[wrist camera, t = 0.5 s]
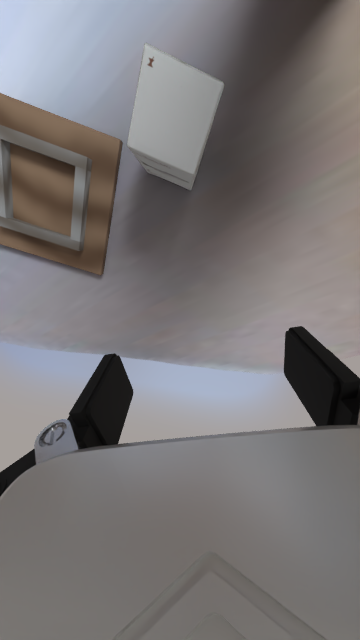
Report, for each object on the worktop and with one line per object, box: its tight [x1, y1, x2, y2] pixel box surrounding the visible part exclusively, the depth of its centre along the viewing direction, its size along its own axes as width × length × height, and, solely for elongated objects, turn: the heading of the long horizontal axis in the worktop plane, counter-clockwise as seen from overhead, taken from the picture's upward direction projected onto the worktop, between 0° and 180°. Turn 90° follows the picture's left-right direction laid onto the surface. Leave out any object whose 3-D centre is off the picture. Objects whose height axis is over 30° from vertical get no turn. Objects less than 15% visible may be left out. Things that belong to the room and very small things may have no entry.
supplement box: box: [127, 43, 224, 191], centre depth 24 cm, size 7×7×13 cm
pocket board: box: [0, 93, 122, 275], centre depth 31 cm, size 20×20×3 cm
